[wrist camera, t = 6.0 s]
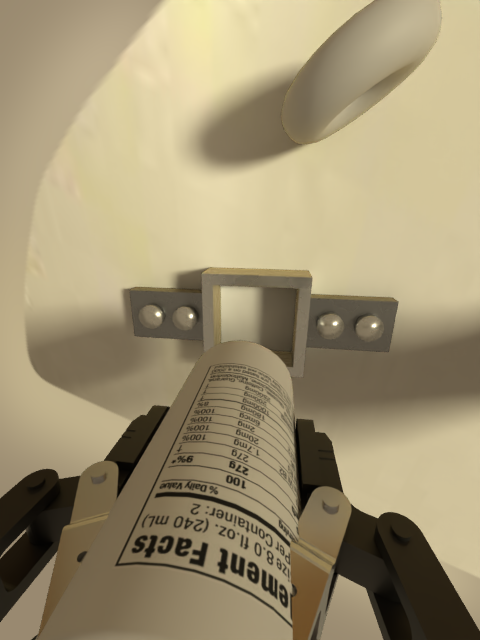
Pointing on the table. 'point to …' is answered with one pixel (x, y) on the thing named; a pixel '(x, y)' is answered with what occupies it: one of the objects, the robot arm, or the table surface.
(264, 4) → the table surface
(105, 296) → the table surface
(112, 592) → the energy drink can
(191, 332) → the mounting bracket
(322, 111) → the donut
